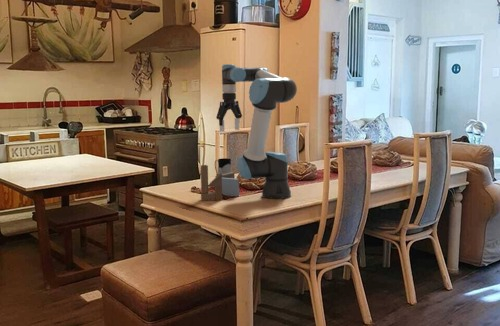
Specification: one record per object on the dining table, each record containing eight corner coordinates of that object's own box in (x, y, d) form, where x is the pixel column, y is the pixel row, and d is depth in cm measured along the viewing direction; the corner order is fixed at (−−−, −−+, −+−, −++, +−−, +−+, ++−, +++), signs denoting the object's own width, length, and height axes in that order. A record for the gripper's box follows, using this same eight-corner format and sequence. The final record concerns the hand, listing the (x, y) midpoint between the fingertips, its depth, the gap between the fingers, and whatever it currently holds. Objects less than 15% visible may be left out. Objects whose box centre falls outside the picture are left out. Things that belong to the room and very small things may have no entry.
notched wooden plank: (234, 190, 293) (234, 170, 291) (217, 194, 281) (217, 174, 279) (231, 189, 294) (231, 170, 292) (214, 194, 282) (214, 174, 280)
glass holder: (223, 186, 304) (222, 160, 301) (209, 182, 315) (208, 158, 312) (235, 184, 309) (234, 159, 307) (221, 181, 320) (220, 156, 318)
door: (220, 193, 283) (219, 176, 281) (240, 195, 277) (239, 178, 276) (217, 194, 280) (217, 177, 279) (237, 196, 275) (237, 179, 273)
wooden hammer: (222, 200, 267) (221, 165, 265) (201, 200, 266) (200, 166, 264) (221, 198, 271) (221, 164, 268) (201, 199, 270) (200, 164, 267)
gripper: (237, 92, 303) (237, 128, 306) (209, 93, 283) (210, 132, 286) (247, 92, 299) (248, 129, 302) (220, 93, 279) (220, 132, 282)
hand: (229, 130), depth 294 cm, fingers open, 13 cm apart
